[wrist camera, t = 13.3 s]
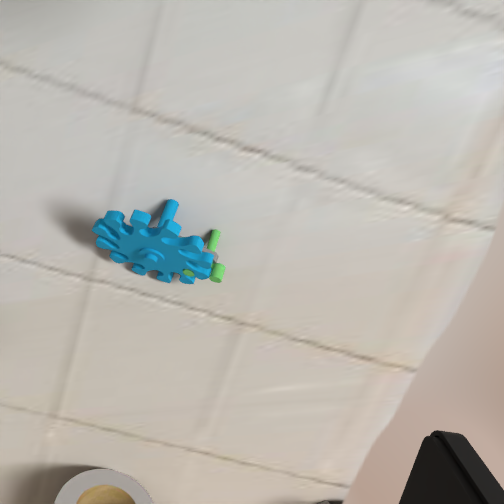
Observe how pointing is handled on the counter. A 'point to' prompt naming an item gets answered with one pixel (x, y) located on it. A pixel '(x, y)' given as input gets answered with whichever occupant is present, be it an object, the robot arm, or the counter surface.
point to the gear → (159, 246)
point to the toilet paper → (103, 489)
